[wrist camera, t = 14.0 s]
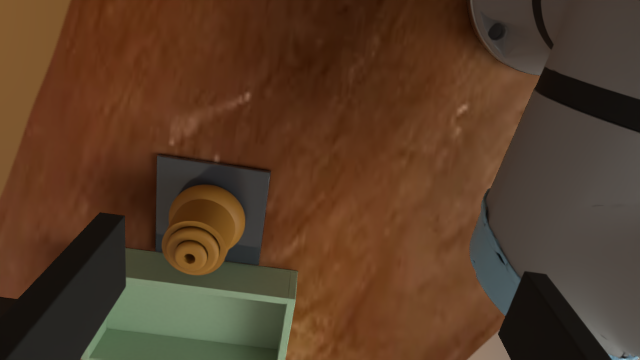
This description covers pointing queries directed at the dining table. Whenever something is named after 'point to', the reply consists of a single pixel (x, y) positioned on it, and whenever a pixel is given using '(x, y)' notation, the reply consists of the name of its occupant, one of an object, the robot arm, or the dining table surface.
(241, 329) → the tote
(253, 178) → the slate tile
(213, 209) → the ornamental finial
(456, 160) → the dining table surface
